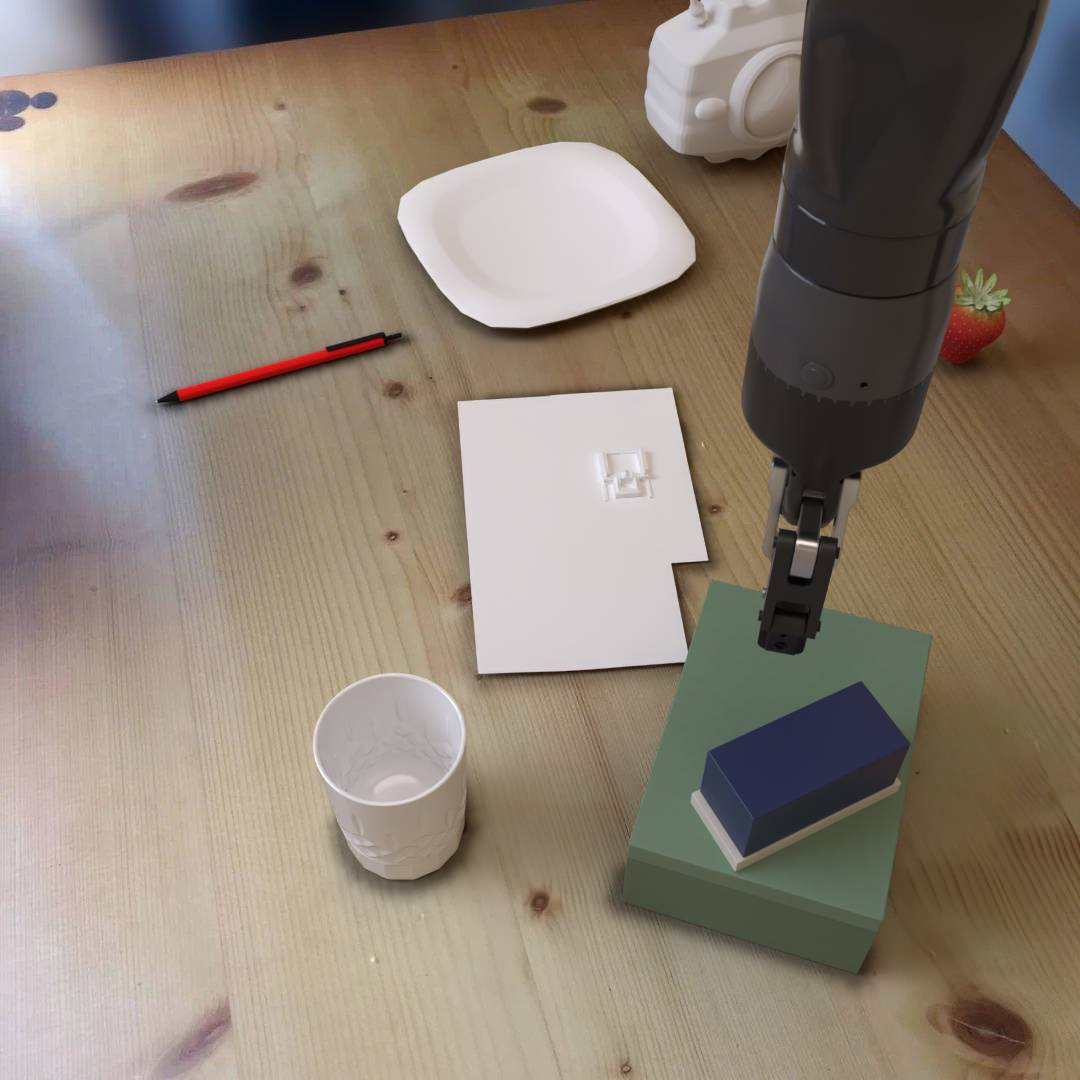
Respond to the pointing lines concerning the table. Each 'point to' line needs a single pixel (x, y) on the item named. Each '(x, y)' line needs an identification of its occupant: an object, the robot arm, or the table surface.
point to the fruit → (974, 318)
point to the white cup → (395, 772)
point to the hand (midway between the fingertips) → (790, 577)
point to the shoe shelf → (740, 707)
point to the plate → (544, 235)
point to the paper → (577, 529)
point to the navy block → (799, 774)
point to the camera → (726, 77)
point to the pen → (281, 367)
